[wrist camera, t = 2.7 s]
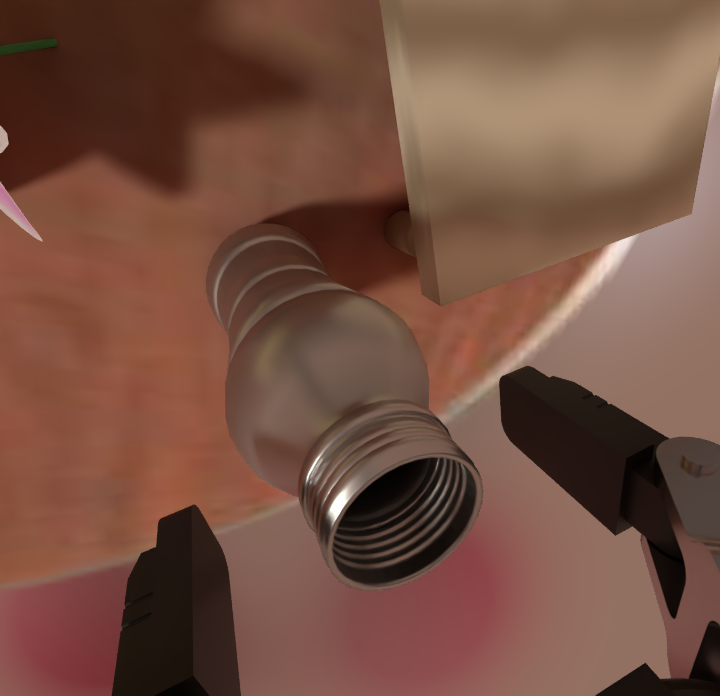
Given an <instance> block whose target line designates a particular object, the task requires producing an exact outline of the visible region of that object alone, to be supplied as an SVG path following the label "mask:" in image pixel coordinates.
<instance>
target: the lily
mask: <svg viewBox="0 0 720 696" xmlns="http://www.w3.org/2000/svg"><path fill="white" fill-rule="evenodd" d="M57 45H58V43H57V41H56V40H55V39H54V38H50V39H43V40H36V41H30V42H23V43H16V44H9V45H2V46H0V55H7V54H13V53H20V52H26V51H32V50H38V49H43V48H49V47H55V46H57ZM8 144H9V143H8V137H7V133H6V132H5V130H4V129H3V128H2V127H1V126H0V153H2V152H3V151H4V149H5V148H6V147H7V146H8ZM0 209H1V210H2V211H3V212H4V213H5V214H6V215H8V216H9V217H10V218H11V219H12V220H13V221H15V222H16V223H17V224H18V225H19V226H20V227H22V228H23V229H24V230H25V231H27V232H28V233H29V234H31V235H32V236H33V237H35V238H36V239H38V240H40V241H42V239H41V237H40V236H39V235H38V233H37V232H36V231H35V229H34V228H33V227H32V226H31V224H30V223H29V222H28V220H27V219H26V217H25V216H24V215H23V213H22V212H21V211H20V209H19V208H18V207H17V205H16V204H15V202H14V201H13V199H12V198H11V196H10V195H9V194H8V192H7V191H6V189H5V188H4V186H3V185H2V183H1V182H0ZM42 242H43V241H42Z"/></svg>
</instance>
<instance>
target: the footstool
mask: <svg viewBox="0 0 720 696" xmlns="http://www.w3.org/2000/svg"><path fill="white" fill-rule="evenodd" d="M379 2H380V9H381V15H382V22H383V29H384V36H385V43H386V50H387V57H388V64H389V71H390V78H391V84H392V91H393V98H394V105H395V112H396V119H397V126H398V133H399V140H400V147H401V154H402V160H403V167H404V174H405V181H406V188H407V195H408V202H409V209H410V212H408V211H398V212H395V213H394V214H392V215H391V216H390V217H389V219H388V220H387V222H386V225H385V230H384V233H385V238H386V240H387V242H388V243H389V244H390V245H391V246H393V247H395V248H397V249H399V250H401V251H403V252H405V253H407V254H409V255H411V256H413V257H415V258H417V264H418V271H419V278H420V285H421V292H422V295H424V296H425V297H427V298H428V299H430V300H432V301H433V302H435V303H436V304H438V305H440V306H442V305H445V304H448V303H451V302H453V301H456V300H459V299H462V298H464V297H467V296H470V295H472V294H475V293H478V292H481V291H483V290H486V289H489V288H491V287H494V286H497V285H500V284H502V283H505V282H508V281H510V280H513V279H516V278H519V277H521V276H524V275H527V274H529V273H532V272H535V271H538V270H540V269H543V268H546V267H548V266H551V265H554V264H557V263H559V262H562V261H565V260H567V259H570V258H573V257H576V256H578V255H581V254H584V253H586V252H589V251H592V250H595V249H597V248H600V247H603V246H605V245H608V244H611V243H614V242H616V241H619V240H622V239H624V238H627V237H630V236H633V235H635V234H638V233H641V232H643V231H646V230H648V229H652V228H654V227H657V226H660V225H662V224H665V223H667V222H671V221H673V220H676V219H679V218H681V217H684V216H687V215H690V214H691V213H692V208H693V203H694V197H695V191H696V185H697V180H698V175H699V169H700V163H701V158H702V152H703V147H704V141H705V136H706V130H707V124H708V119H709V113H710V108H711V102H712V97H713V91H714V85H715V80H716V74H717V69H718V63H719V57H720V0H379Z"/></svg>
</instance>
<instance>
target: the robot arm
mask: <svg viewBox="0 0 720 696" xmlns="http://www.w3.org/2000/svg"><path fill="white" fill-rule="evenodd" d="M499 388H500V406H501V422H502V426H503V429H504V431H505V433H506V435H507V437H508V438H509V440H510V441H511V442H512V443H513V444H514V445H515V446H516V447H517V448H519V449H520V450H521V451H522V452H523V453H524V454H525V455H526V456H527V457H528V458H530V459H531V460H532V461H533V462H534V463H535V464H536V465H537V466H538V467H540V468H541V469H542V470H543V471H544V472H545V473H546V474H547V475H548V476H550V477H551V478H552V479H553V480H554V481H555V482H556V483H557V484H559V485H560V486H561V487H562V488H563V489H564V490H565V491H566V492H567V493H569V494H570V495H571V496H572V497H573V498H574V499H575V500H576V501H577V502H579V503H580V504H581V505H582V506H583V507H584V508H585V509H586V510H588V511H589V512H590V513H591V514H592V515H593V516H594V517H595V518H597V519H598V520H599V521H600V522H601V523H602V524H603V525H604V526H605V527H607V528H608V529H609V530H610V531H611V532H612V533H613V534H614V535H615V536H616V535H618V534H619V533H621V532H623V531H625V530H627V529H629V528H630V527H632V526H633V527H634V528H636V529H637V530H638V531H639V532H640V533H641V540H640V541H641V546H642V550H643V553H644V557H645V560H646V563H647V567H648V570H649V574H650V577H651V581H652V584H653V587H654V591H655V594H656V598H657V601H658V605H659V608H660V612H661V615H662V619H663V622H664V625H665V630H666V637H667V657H668V664H669V670H670V675H671V678H669V679H659V677H658V676H657V675H656V674H655V673H654V672H653V671H652V670H651V669H650V667H649V666H648V665H647V664H646V663H644V664H643V665H641V666H640V667H638V668H637V669H635V670H634V671H632V672H631V673H629V674H628V675H626V676H624V677H623V678H621V679H620V680H618V681H617V682H615V683H614V684H612V685H611V686H609V687H608V688H606V689H605V690H603V691H602V692H600V693H598V694H597V695H596V696H720V445H719V444H716V443H714V442H711V441H708V440H704V439H700V438H694V437H676V438H671V439H669V438H668V437H665V436H664V435H662V434H661V433H659V432H657V431H656V430H654V429H652V428H651V427H649V426H647V425H646V424H644V423H642V422H640V421H639V420H637V419H635V418H634V417H632V416H630V415H629V414H627V413H625V412H624V411H622V410H620V409H619V408H617V407H615V406H613V405H612V404H608V403H607V401H605V400H604V399H602V398H600V397H599V396H597V395H595V396H594V395H593V394H592V392H590V391H588V390H587V389H585V388H583V387H582V386H580V385H578V384H577V383H575V382H572V381H569V380H565V379H562V378H558V377H555V376H552V377H550V378H549V377H547V376H546V375H544V374H543V373H541V372H539V371H538V370H536V369H535V368H533V367H530V366H525V367H523V368H520V369H518V370H516V371H513V372H511V373H509V374H506V375H504V376H502V377H501V378H500V382H499ZM230 591H231V590H230V580H229V572H228V566H227V562H226V559H225V556H224V553H223V550H222V548H221V546H220V544H219V542H218V541H217V539H216V537H215V536H214V534H213V532H212V530H211V529H210V527H209V525H208V523H207V522H206V520H205V518H204V516H203V515H202V513H201V511H200V510H199V508H198V507H197V506H196V505H192V506H189V507H187V508H185V509H182V510H180V511H177V512H175V513H173V514H170V515H168V516H166V517H163V518H161V519H160V520H159V523H158V532H157V544H156V547H155V548H152V549H150V550H148V551H145V552H143V553H141V554H140V556H139V558H138V560H137V562H136V564H135V566H134V568H133V570H132V572H131V574H130V576H129V578H128V582H127V589H126V597H125V609H124V611H123V618H122V625H121V626H122V631H121V633H120V640H119V647H118V654H117V662H116V669H115V676H114V683H113V690H112V696H241V692H240V682H239V672H238V662H237V652H236V642H235V632H234V621H233V611H232V600H231V592H230Z"/></svg>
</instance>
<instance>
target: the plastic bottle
mask: <svg viewBox="0 0 720 696" xmlns="http://www.w3.org/2000/svg"><path fill="white" fill-rule="evenodd" d="M206 293H207V297H208V302H209V305H210V307H211V309H212V311H213V313H214V315H215V317H216V319H217V320H218V322H219V323H220V325H221V326H222V327H223V329H224V330H225V331H226V332H227V334H228V339H229V351H230V352H229V360H228V367H227V375H226V382H225V418H226V422H227V426H228V430H229V435H230V437H231V439H232V441H233V443H234V445H235V447H236V449H237V450H238V452H239V453H240V455H241V456H242V457H243V459H244V460H245V461H246V463H247V464H248V465H249V467H250V468H251V469H252V470H253V471H254V472H255V473H256V474H257V475H258V476H259V478H261V479H262V480H264V481H265V482H267V483H268V484H270V485H271V486H272V487H274V488H277V489H279V490H281V491H284V492H286V493H288V494H291V495H293V496H296V497H299V502H300V505H301V508H302V511H303V514H304V516H305V519H306V520H307V523H308V525H309V527H310V528H311V529H312V530H313V531H314V532H315V534H316V537H317V540H318V543H319V546H320V549H321V552H322V555H323V557H324V559H325V561H326V564H327V566H328V567H329V568H330V570H331V572H332V574H333V575H334V576H335V577H336V578H337V579H338V580H339V581H340V582H341V583H343V584H345V585H347V586H348V587H350V588H355V589H358V590H364V591H378V590H386V589H390V588H394V587H398V586H401V585H404V584H406V583H408V582H410V581H413V580H415V579H417V578H419V577H421V576H423V575H424V574H426V573H428V572H430V571H431V570H432V569H434V568H435V567H436V566H438V565H439V564H441V563H442V562H443V561H444V560H445V559H446V558H447V557H449V556H450V555H451V554H452V553H453V552H454V551H455V550H456V548H457V547H458V546H459V545H460V544H461V543H462V542H463V540H464V539H465V538H466V536H467V535H468V533H469V532H470V530H471V529H472V527H473V525H474V523H475V521H476V519H477V517H478V514H479V511H480V508H481V504H482V498H483V485H482V479H481V477H480V474H479V472H478V470H477V468H476V467H475V466H474V463H473V462H472V460H471V459H470V458H469V457H468V456H467V455H466V454H465V453H464V452H463V451H462V450H461V449H460V447H459V446H458V445H457V444H456V443H455V442H454V441H453V440H452V438H451V436H450V434H449V432H448V429H447V428H446V427H445V426H444V425H443V423H442V422H441V421H440V420H439V419H438V418H437V417H436V416H435V415H434V414H433V413H432V412H431V411H430V410H429V374H428V369H427V364H426V361H425V359H424V356H423V354H422V352H421V349H420V347H419V345H418V342H417V340H416V338H415V336H414V333H413V332H412V330H411V329H410V328H409V327H408V325H407V324H406V323H405V321H404V320H403V319H402V318H401V317H399V316H398V315H397V314H396V313H394V312H393V311H392V310H391V309H389V308H388V307H386V306H384V305H383V304H381V303H380V302H378V301H377V300H374V299H372V298H370V297H368V296H366V295H364V294H362V293H358V292H356V291H354V290H352V289H349V288H347V287H345V286H342V285H340V284H339V283H338V282H336V281H335V280H334V279H332V278H331V277H330V276H329V275H328V273H327V272H326V269H325V266H324V264H323V262H322V260H321V258H320V256H319V255H318V253H317V251H316V249H315V248H314V246H313V245H312V244H311V243H310V242H309V240H308V239H306V238H305V237H304V236H303V235H301V234H300V233H299V232H297V231H295V230H293V229H291V228H289V227H286V226H282V225H278V224H267V223H262V224H255V225H249V226H247V227H244V228H241V229H239V230H237V231H236V232H234V233H233V234H231V235H230V236H229V237H228V238H226V239H225V240H224V241H223V242H222V243H221V245H220V246H219V248H218V249H217V251H216V252H215V254H214V255H213V257H212V260H211V262H210V265H209V267H208V272H207V277H206Z"/></svg>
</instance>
